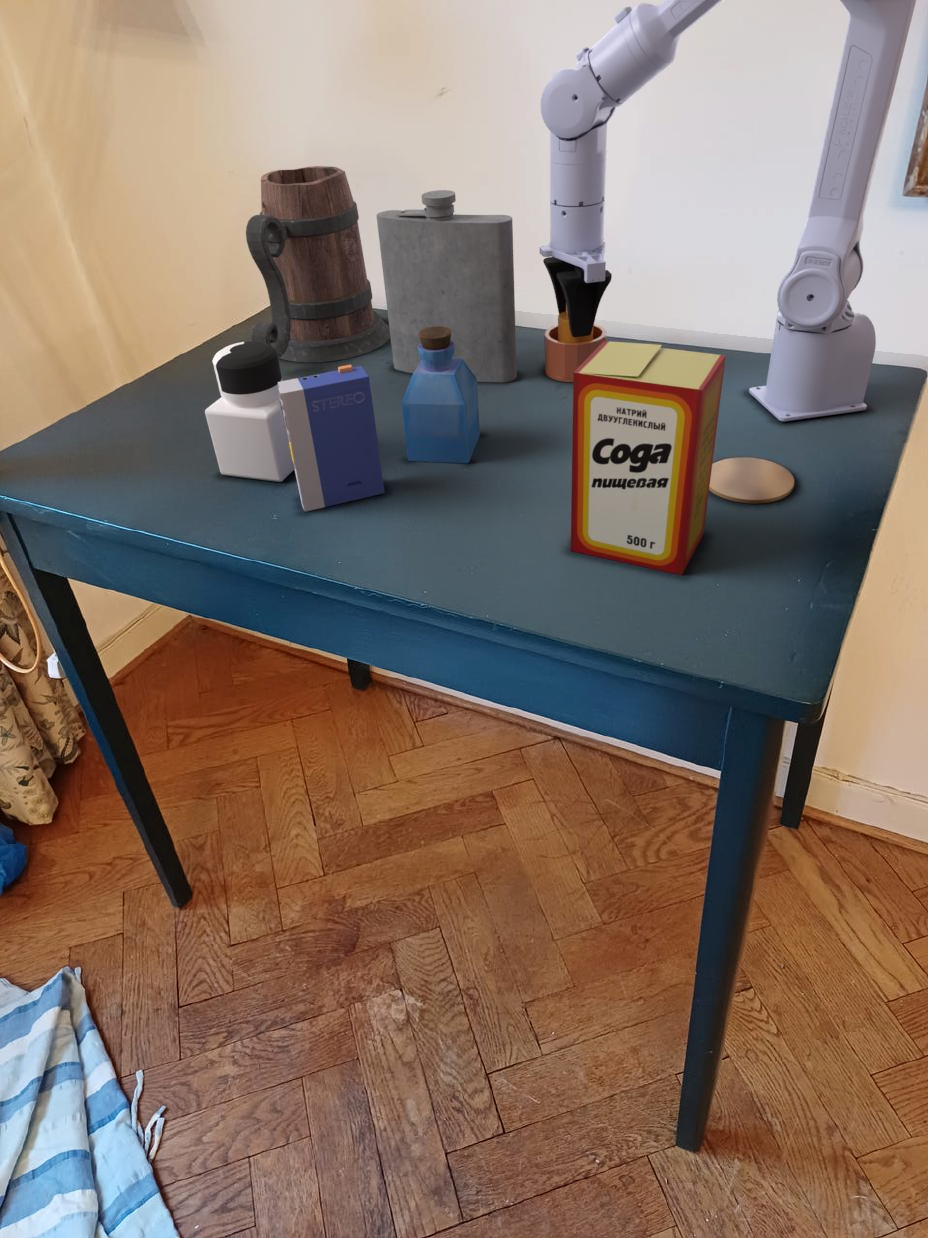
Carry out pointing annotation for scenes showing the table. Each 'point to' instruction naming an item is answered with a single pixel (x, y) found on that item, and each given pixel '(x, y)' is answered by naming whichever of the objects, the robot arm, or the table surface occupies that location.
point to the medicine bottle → (249, 414)
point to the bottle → (565, 332)
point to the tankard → (313, 268)
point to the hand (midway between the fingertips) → (575, 328)
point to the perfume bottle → (440, 403)
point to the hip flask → (450, 284)
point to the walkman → (332, 436)
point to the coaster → (750, 480)
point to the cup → (568, 353)
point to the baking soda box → (643, 452)
